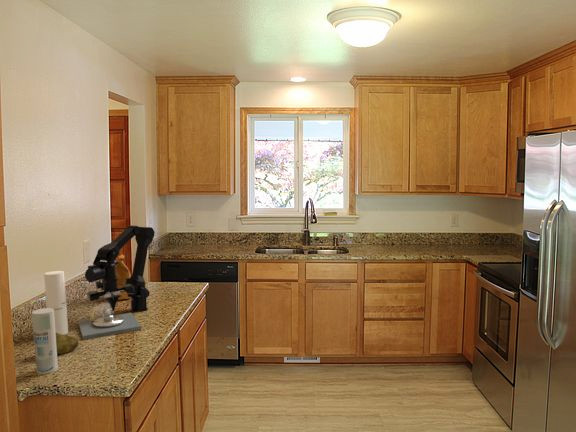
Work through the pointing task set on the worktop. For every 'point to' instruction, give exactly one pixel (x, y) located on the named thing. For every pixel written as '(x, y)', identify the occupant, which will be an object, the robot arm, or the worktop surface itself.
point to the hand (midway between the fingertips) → (113, 311)
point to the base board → (93, 332)
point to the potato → (65, 343)
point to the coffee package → (122, 276)
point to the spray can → (45, 340)
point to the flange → (108, 319)
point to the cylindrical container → (57, 299)
